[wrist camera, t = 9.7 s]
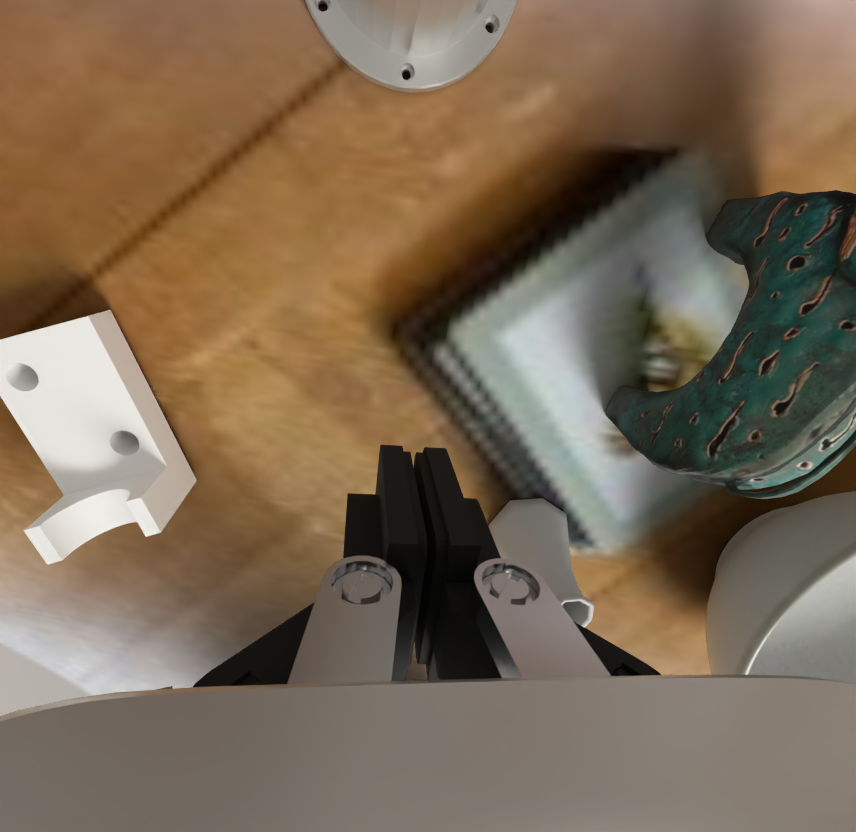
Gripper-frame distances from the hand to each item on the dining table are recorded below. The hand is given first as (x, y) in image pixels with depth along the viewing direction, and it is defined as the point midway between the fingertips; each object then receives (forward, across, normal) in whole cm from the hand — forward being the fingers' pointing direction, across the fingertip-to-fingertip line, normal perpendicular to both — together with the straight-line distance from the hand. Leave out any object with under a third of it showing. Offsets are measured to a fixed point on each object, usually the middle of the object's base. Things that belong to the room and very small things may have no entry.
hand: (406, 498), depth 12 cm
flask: (+23, -14, +17) cm, 32 cm away
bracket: (+23, +18, +8) cm, 31 cm away
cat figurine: (+23, -23, -2) cm, 33 cm away
